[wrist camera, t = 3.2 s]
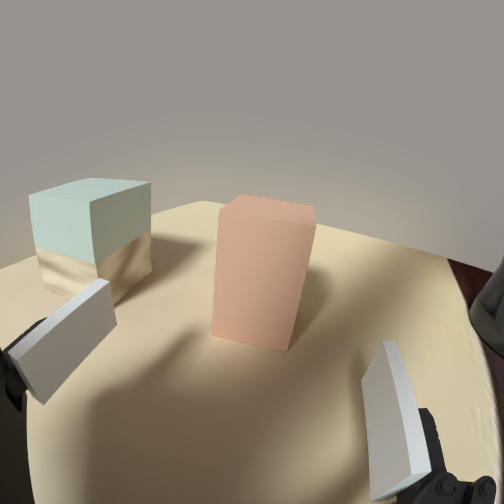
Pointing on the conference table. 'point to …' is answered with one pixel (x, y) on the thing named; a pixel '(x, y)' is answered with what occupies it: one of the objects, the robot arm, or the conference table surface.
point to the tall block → (260, 269)
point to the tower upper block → (90, 217)
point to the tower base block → (97, 269)
